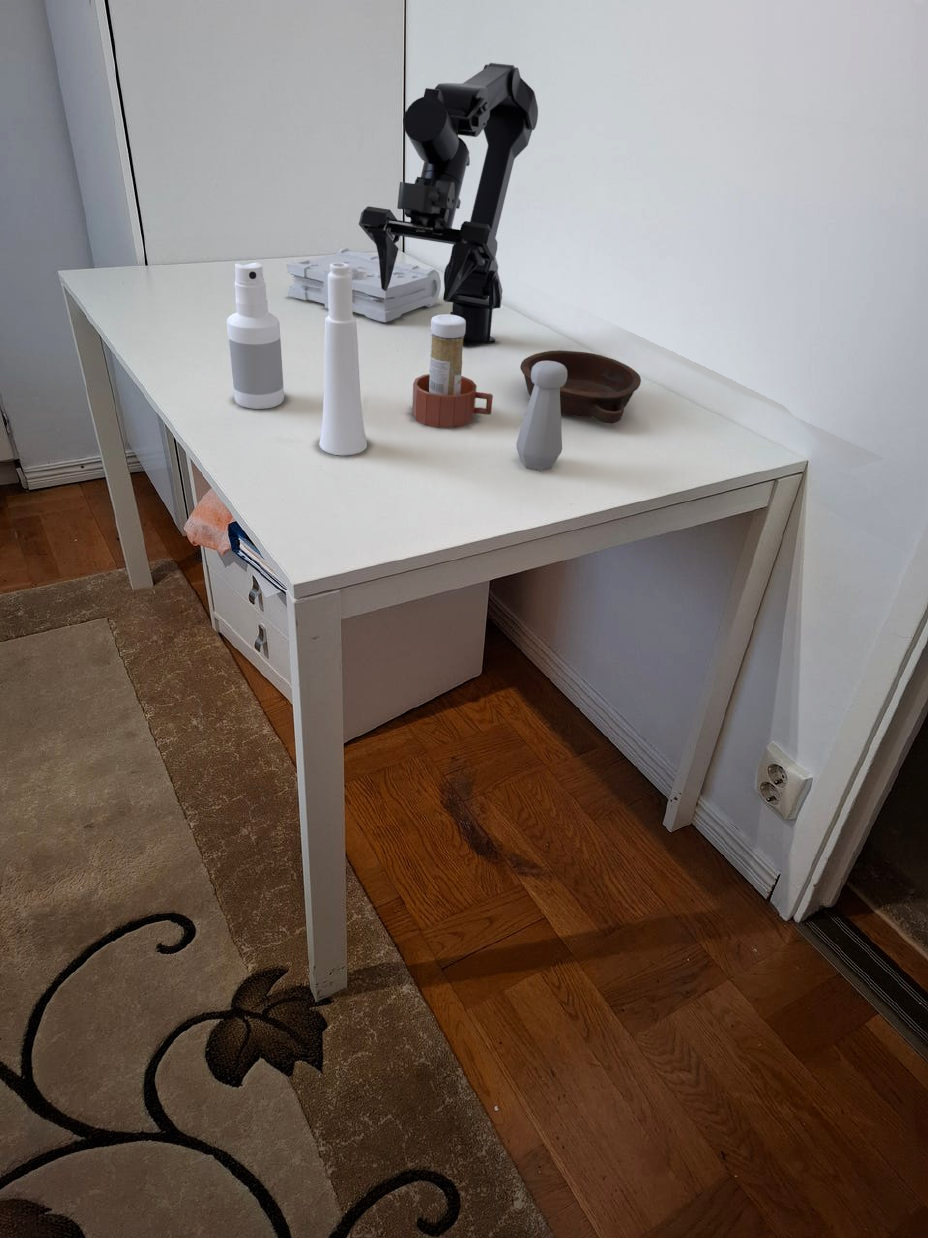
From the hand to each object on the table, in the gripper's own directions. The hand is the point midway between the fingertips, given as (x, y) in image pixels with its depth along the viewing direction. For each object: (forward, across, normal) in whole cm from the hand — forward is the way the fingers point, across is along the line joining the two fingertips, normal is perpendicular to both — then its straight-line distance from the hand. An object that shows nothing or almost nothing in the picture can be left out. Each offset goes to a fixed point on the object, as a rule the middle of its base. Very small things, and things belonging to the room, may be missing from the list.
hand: (414, 295), depth 114 cm
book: (-9, -27, +39) cm, 48 cm away
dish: (+7, +23, +14) cm, 28 cm away
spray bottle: (+19, -17, -4) cm, 26 cm away
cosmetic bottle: (+24, 0, -11) cm, 26 cm away
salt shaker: (+20, +24, -5) cm, 31 cm away
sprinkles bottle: (+15, +8, +2) cm, 17 cm away
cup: (+15, +9, +2) cm, 17 cm away
